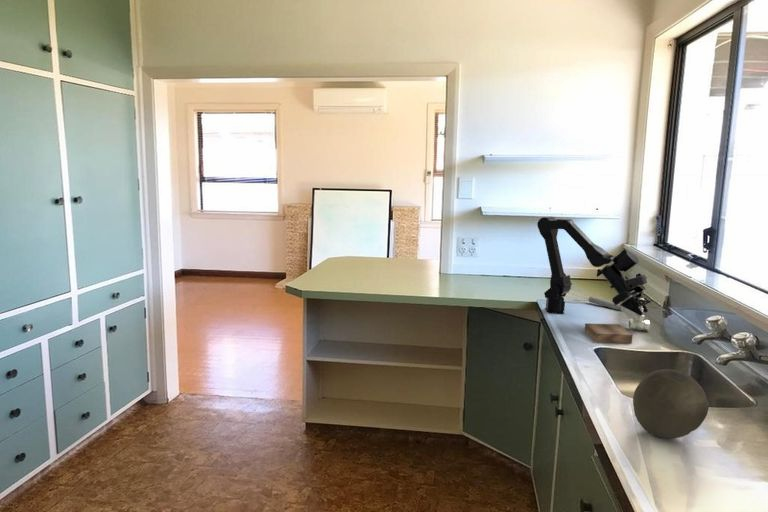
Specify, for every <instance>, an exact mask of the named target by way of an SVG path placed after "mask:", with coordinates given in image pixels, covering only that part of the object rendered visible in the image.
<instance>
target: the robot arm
mask: <svg viewBox="0 0 768 512" xmlns="http://www.w3.org/2000/svg"><path fill="white" fill-rule="evenodd" d="M536 224H537V228H538V232H539V234H540V236H541V237H542V238H543V240H544V242H545V248H546V253H547V257H548V258H547V259H548V262H549V268H550V271H551V272H550V273H551V276H550V281H549V283H550V284H549V285H550V286H549V287H550V288H548V289H547V290H546V291H544V293H543V294H544V298H546V299H545V300H546V301H545V302H546V303H545V307H544V310H545V312H546V313H548V314H561V315H562V314H565V305H566V304H565V303H566V301H565V296H567V294H568V293H570V291H571V290H572V287H571V286H572V285H573V283H572V280H571V275H570V274H569V275H567V274H566V273H565V271H564V267H563V263H562V262H563V261H562V258H561V253H560V247H559V242H558V234H559V233H558V232H559V230H564V231H565V232H566V233H567V234H568V235H569V236H570V238H572V239H573V241H574V242H576V244H577V245H578V246H579V247H580V248H581V249H582V251H584V254H585V257H586V259H587V260H588V262H589V263H590V264H591V266H593V267H595V268H598V269H597V270H596V277H597V278H598V277H601V276H603V278H605V280H606V281H607V282H608V283H609V284H610V286H609V287H610V289H614V290H615V292H616V293H617V295H614V296H613V297H612V301H611V302H613V303H614V304H615V306H616V305H618V304H620V306H623V307H624V308H625V309H626V310H627V309H628V311H631V312H633V313H635V315H636V314H638V315H640V316H641V315H642V314H643V315H644V313H645V314H646V313H648V312H649V309H648V308H647V304H646V305H644V306H643V307H642V308H644V310H643V312H642V311H641V310H640V308H639V307H640V306H639V305H638V303H637V302H636V300H635V297H638V296H640V297H642V298H644V297H643V296H644V293H645V290H646V287H645V286H644V285H645V284H647V283H648V282H647V279H648V277H647V276H646V275H645V274H643V273H642V272H639V273H636V274H635V277H631V278H630V276H626V275H624V274H623V272H624V273H627V272H628V271H629V270H631V269H632V268H634V267H636V265H638V264H639V263H640V260H639V258H638V257H637V256H636V254H633V252H631V251H629V249H627V248H625V249H623V250H621V252H620V253H619V254H617V255H613V254H612V255H611V254H610V253H609V252H608V251H606V250H605V249H603V248H602V247H600V246H599V245H597V244H595V243H594V242H593V241H592V239H590V237H588V236H587V234H586V233H585V232H583V230H582V229H581V228H580V227H579V226H578V225H577V224H576V223H575V221H574V220H573V219H572V218H567V219H564V218H562V219H561V218H556V217H554V216H546V217H545V216H544V217H541V218H540V219H539V220H538V221H537V223H536ZM603 266H604V267H603ZM600 267H603V268H600Z"/></svg>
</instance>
